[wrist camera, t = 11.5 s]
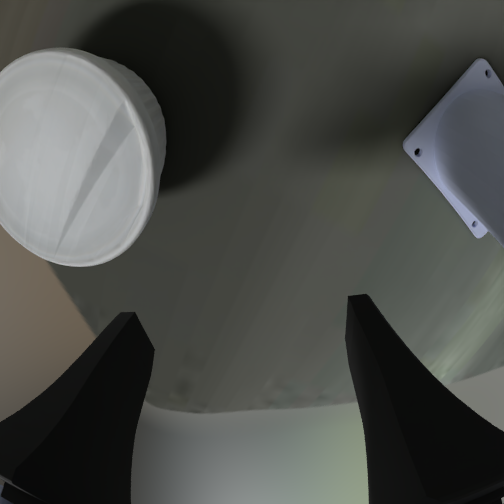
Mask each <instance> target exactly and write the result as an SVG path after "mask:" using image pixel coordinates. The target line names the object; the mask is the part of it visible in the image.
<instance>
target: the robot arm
mask: <svg viewBox="0 0 504 504" xmlns="http://www.w3.org/2000/svg"><path fill="white" fill-rule="evenodd" d="M486 70H487V71H488V75H487V77H486V75H485V71H486ZM417 148H419V149H420V152H419V154H417V155H415V154H414V151H415V150H416V149H417ZM403 149H404V150H405V152H406V153H407V154H408V155H409V156H410V157H411V158H412V159H413V160H414V161H415V162H416V164H417V165H418V166H419V167H420V168H421V169H422V170H423V171H424V173H425V174H426V175H427V176H428V177H429V178H430V180H431V181H432V182H433V183H434V184H435V185H436V187H437V188H438V189H439V190H440V191H441V193H442V194H443V195H444V196H445V198H446V199H447V200H448V201H449V203H450V204H451V205H452V206H453V208H454V209H455V210H456V211H457V213H458V214H459V215H460V217H461V218H462V219H463V221H464V222H465V223H466V225H467V226H468V227H469V229H470V230H471V232H472V233H473V234H474V236H475V237H476V238H481V237H483V236H484V235H485V234H486V233H487V232H488V231H489V232H490V233H491V234H492V235H493V236H494V237H495V238H496V240H497V241H498V242H499V243H500V244H501V245H502V246H503V248H504V86H503V84H502V83H501V81H500V80H499V78H498V77H497V75H496V74H495V72H494V71H493V69H492V68H491V66H490V65H489V63H488V62H487V61H486V60H485V59H482V58H478V59H476V60H475V61H474V62H473V64H472V65H471V66H470V67H469V68H468V69H467V70H466V72H465V73H464V74H463V75H462V76H461V77H460V78H459V80H458V81H457V82H456V83H455V84H454V85H453V86H452V88H451V89H450V90H449V91H448V92H447V93H446V94H445V95H444V97H443V98H442V99H441V100H440V101H439V102H438V103H437V104H436V106H435V107H434V108H433V109H432V110H431V111H430V112H429V113H428V114H427V115H426V117H425V118H424V119H423V120H422V121H421V122H420V123H419V124H418V125H417V126H416V128H415V129H414V130H413V131H412V132H411V133H410V134H409V135H408V136H407V137H406V138H405V140H404V141H403ZM474 221H475V222H474ZM473 222H474V224H472V223H473ZM345 341H346V348H347V355H348V362H349V368H350V372H351V376H352V380H353V384H354V388H355V392H356V396H357V400H358V405H359V409H360V413H361V418H362V422H363V428H364V434H365V443H366V455H367V468H368V487H369V488H368V489H369V504H502V500H501V498H502V497H504V432H503V431H502V430H500V429H498V428H497V427H495V426H494V425H492V424H491V423H490V422H488V421H487V420H485V419H484V418H482V417H481V416H480V415H478V414H477V413H476V412H475V411H473V410H472V409H471V408H470V407H468V406H467V405H466V404H465V403H463V402H462V401H461V400H459V399H458V398H457V397H456V396H455V395H454V394H452V393H451V392H450V391H449V390H448V389H447V388H446V387H445V386H444V385H443V384H442V383H441V382H440V381H439V380H438V379H437V378H435V377H434V376H433V375H432V374H431V372H430V371H429V370H428V369H427V368H426V367H425V366H424V365H423V364H422V363H421V362H420V361H419V360H418V358H417V357H416V356H415V355H414V354H413V353H412V352H411V351H410V349H409V348H408V347H407V346H406V345H405V343H404V342H403V341H402V340H401V338H400V337H399V336H398V335H397V333H396V332H395V331H394V330H393V328H392V327H391V326H390V324H389V323H388V322H387V320H386V319H385V318H384V316H383V315H382V314H381V312H380V311H379V310H378V308H377V307H376V305H375V304H374V302H373V301H372V299H371V298H370V296H368V295H367V294H361V295H353V296H348V305H347V320H346V334H345ZM154 351H155V349H154V347H153V345H152V343H151V342H150V340H149V338H148V336H147V334H146V332H145V330H144V329H143V327H142V325H141V323H140V321H139V319H138V317H137V315H136V313H135V312H121V313H120V314H119V315H117V316H116V317H115V318H114V320H113V321H112V322H111V323H110V324H109V325H108V326H107V327H106V328H105V329H104V330H103V331H102V333H101V334H100V335H99V336H98V337H97V338H96V339H95V340H94V341H93V343H92V344H91V345H90V346H89V347H88V348H87V349H86V350H85V351H84V352H83V354H82V355H81V356H80V357H79V358H78V359H77V360H76V361H75V362H74V363H73V364H72V365H71V366H70V367H69V369H67V370H66V371H65V372H64V373H63V374H62V375H61V377H59V378H58V379H57V380H56V381H55V382H54V383H53V384H52V385H51V386H50V387H48V388H47V389H46V390H45V391H44V392H43V393H41V394H40V395H39V396H38V397H36V398H35V399H34V400H32V401H31V402H30V403H28V404H27V405H26V406H24V407H23V408H22V409H21V410H19V411H17V412H16V413H14V414H13V415H11V416H9V417H8V418H6V419H5V420H3V421H1V422H0V479H1V480H3V481H5V483H4V486H2V485H0V504H131V467H132V455H133V446H134V439H135V433H136V428H137V424H138V420H139V416H140V413H141V409H142V405H143V402H144V398H145V395H146V391H147V388H148V384H149V380H150V377H151V372H152V366H153V359H154Z"/></svg>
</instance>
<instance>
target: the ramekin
mask: <svg viewBox="0 0 504 504" xmlns="http://www.w3.org/2000/svg"><path fill="white" fill-rule="evenodd" d="M166 142H167V140H166V128H165V120H164V117H163V115H162V110H161V107H160V105H159V104H158V102H157V99H156V97H155V96H154V94H153V93H152V92H151V90H150V88H149V87H148V86H147V85H146V84H145V83H144V81H143V80H142V79H141V78H140V77H138V76H137V75H136V74H135V72H133V71H132V70H129V69H127V68H126V67H125V66H124V65H121V64H118V63H117V62H116V61H113V60H110V59H105V58H102V57H97V56H95V55H93V54H91V53H88V52H85V51H82V50H78V49H72V48H49V49H43V50H39V51H35V52H31V53H29V54H26V55H24V56H22V57H20V58H18V59H16V60H15V61H13V62H12V63H10V64H9V65H8V66H7V67H5V68H4V69H3V70H2V71H1V72H0V224H1V225H2V226H3V228H4V229H5V230H6V231H7V232H8V233H9V234H10V235H11V236H12V237H13V238H14V239H15V240H16V241H17V242H18V243H20V244H21V245H22V246H24V247H25V248H26V249H28V250H29V251H31V252H32V253H34V254H36V255H37V256H39V257H41V258H43V259H45V260H48V261H51V262H54V263H57V264H61V265H66V266H76V267H83V266H93V265H98V264H102V263H105V262H107V261H110V260H112V259H113V258H115V257H117V256H119V255H120V254H122V253H123V252H124V251H126V250H127V249H128V248H129V247H130V246H131V245H132V244H133V243H134V242H135V240H136V239H137V238H138V237H139V235H140V234H141V232H142V231H143V229H144V228H145V226H146V224H147V223H148V221H149V219H150V217H151V215H152V213H153V210H154V207H155V204H156V201H157V196H158V192H159V185H160V176H161V173H162V170H163V166H164V159H165V155H166Z"/></svg>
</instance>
